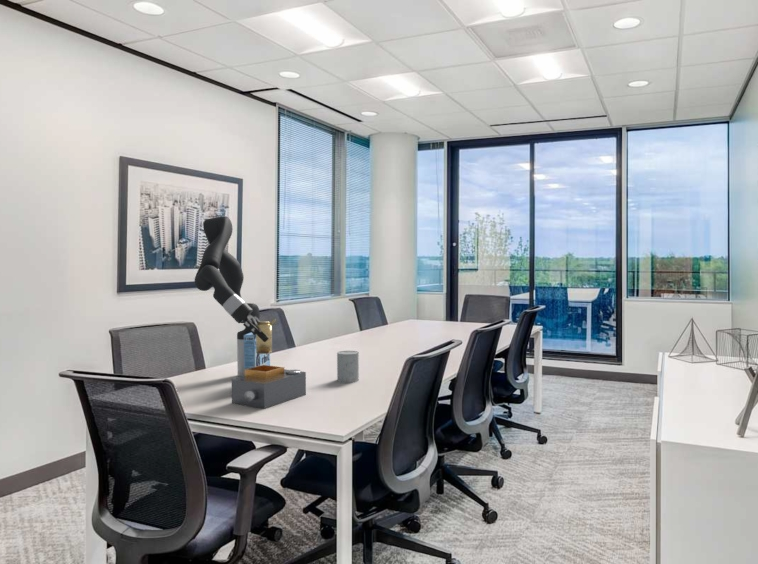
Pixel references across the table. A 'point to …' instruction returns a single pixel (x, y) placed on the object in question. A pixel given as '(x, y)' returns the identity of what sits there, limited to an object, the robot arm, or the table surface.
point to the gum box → (253, 353)
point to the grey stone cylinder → (347, 366)
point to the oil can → (267, 330)
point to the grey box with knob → (268, 386)
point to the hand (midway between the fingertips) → (268, 339)
